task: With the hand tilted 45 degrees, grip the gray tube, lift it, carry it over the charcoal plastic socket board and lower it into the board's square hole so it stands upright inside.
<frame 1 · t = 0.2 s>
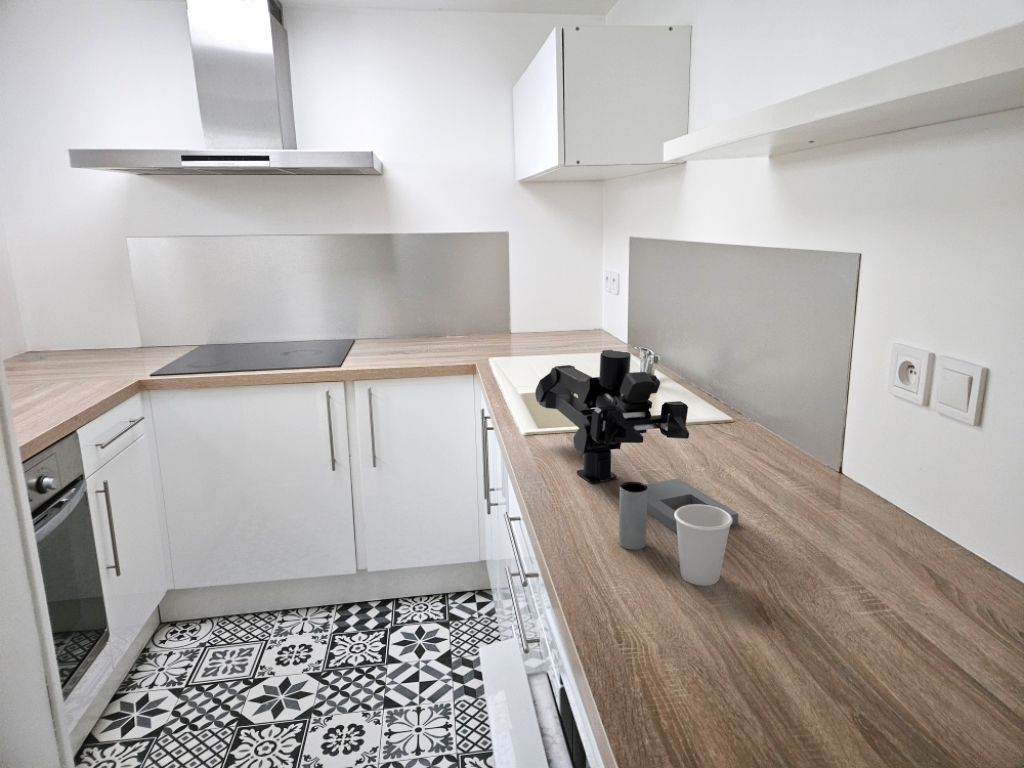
hand: (665, 437, 117), 16 cm above the countertop, tool horizontal, fingers open, 9 cm apart
dixie cup: (699, 577, 104), on the countertop
gray tube: (632, 544, 114), on the countertop
socket board: (679, 510, 127), on the countertop
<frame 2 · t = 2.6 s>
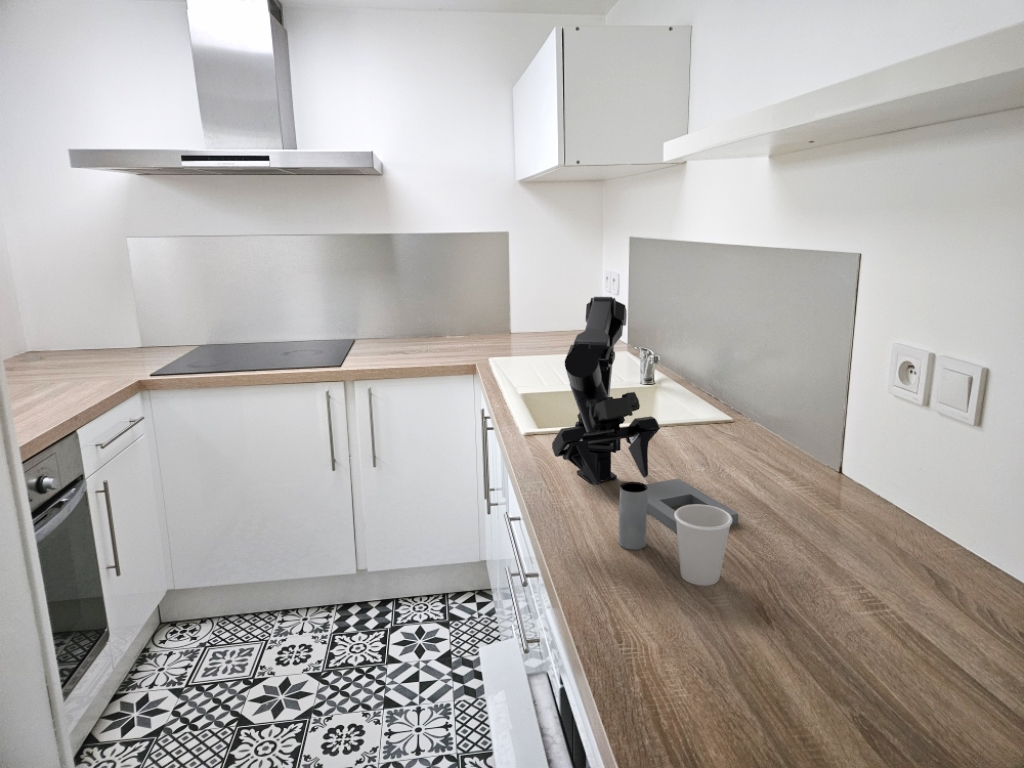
hand: (622, 480, 115), 10 cm above the countertop, tool tilted 45°, fingers open, 9 cm apart
nothing on the countertop moved.
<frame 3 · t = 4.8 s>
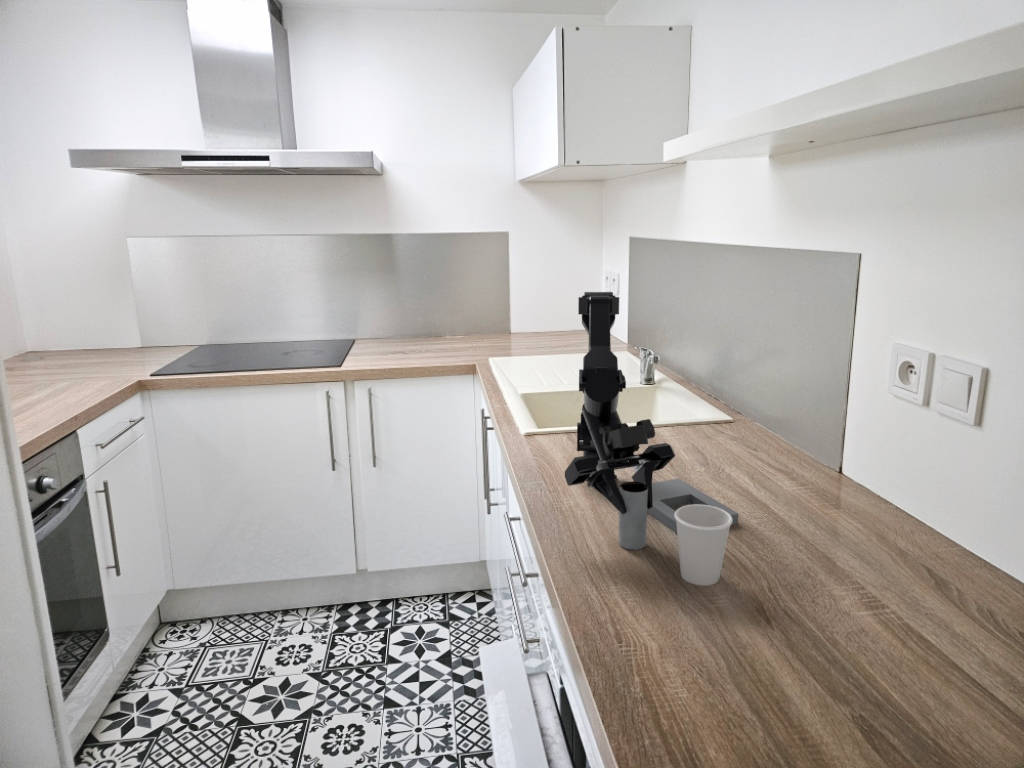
hand: (637, 510, 111), 7 cm above the countertop, tool tilted 45°, fingers closed on gray tube, 4 cm apart
gray tube: (632, 544, 114), on the countertop, touching gripper
everything else where it was.
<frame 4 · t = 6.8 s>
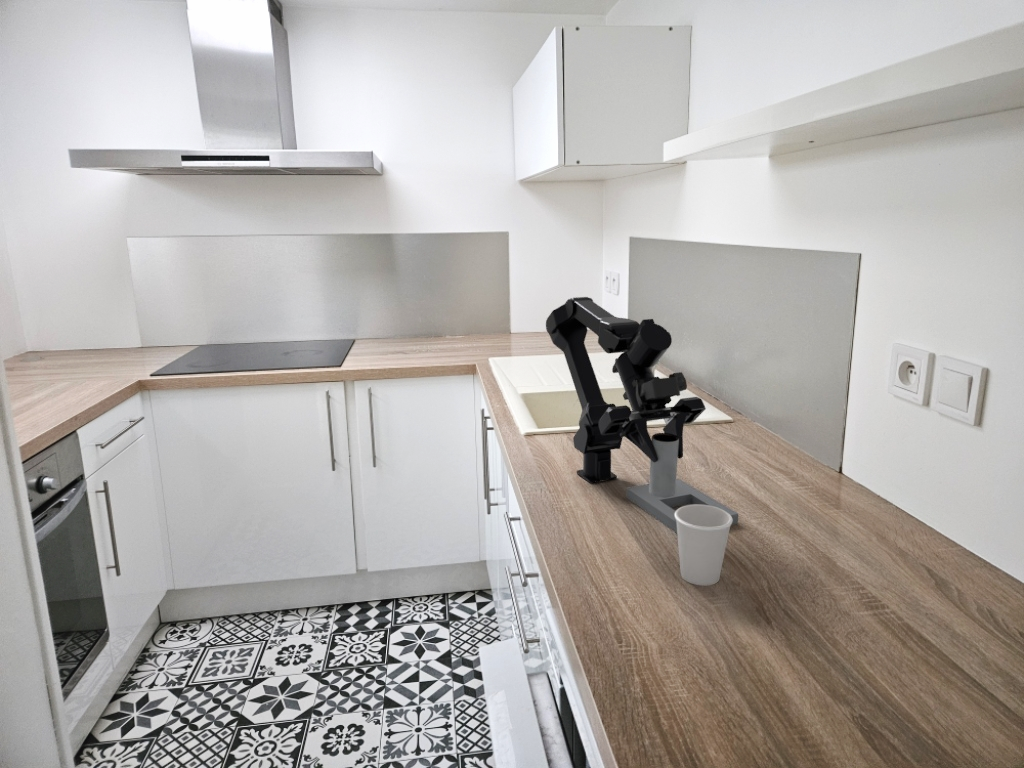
hand: (668, 459, 116), 13 cm above the countertop, tool tilted 45°, fingers closed on gray tube, 4 cm apart
gray tube: (661, 493, 119), point 6 cm above the countertop, touching gripper
everything else where it was.
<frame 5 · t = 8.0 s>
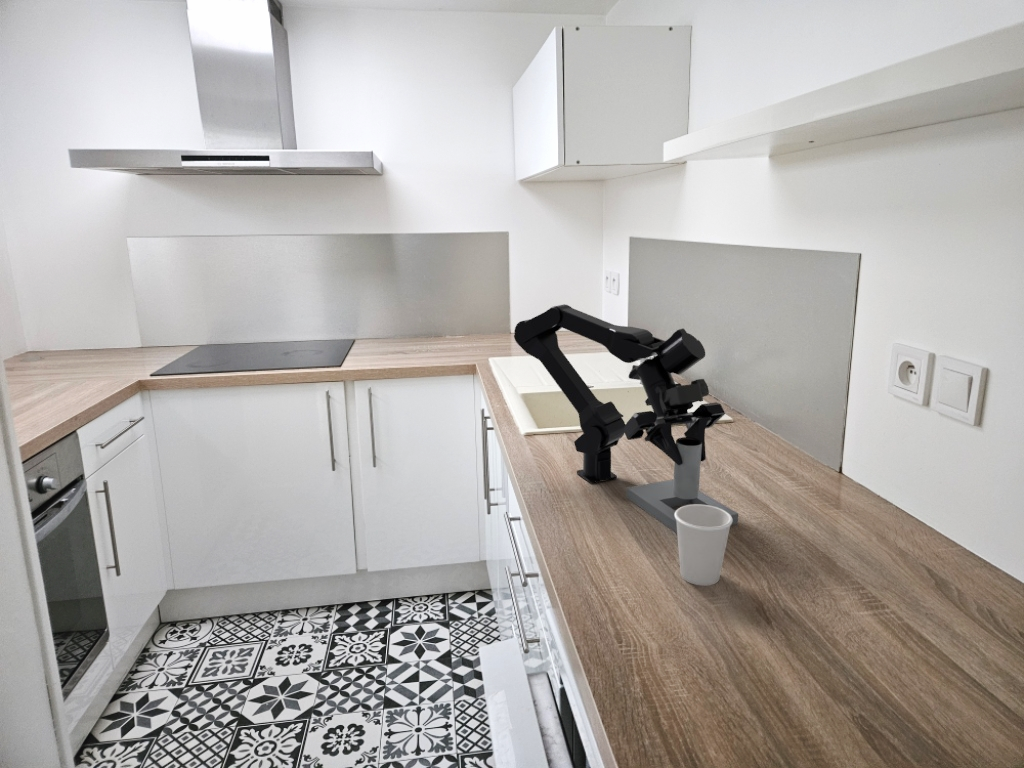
hand: (692, 462, 121), 11 cm above the countertop, tool tilted 45°, fingers closed on gray tube, 4 cm apart
gray tube: (685, 495, 124), point 4 cm above the countertop, touching gripper
everything else where it was.
when the fingers open (9 cm above the countertop, at t = 9.0 s): gray tube drops 3 cm, resting in socket board.
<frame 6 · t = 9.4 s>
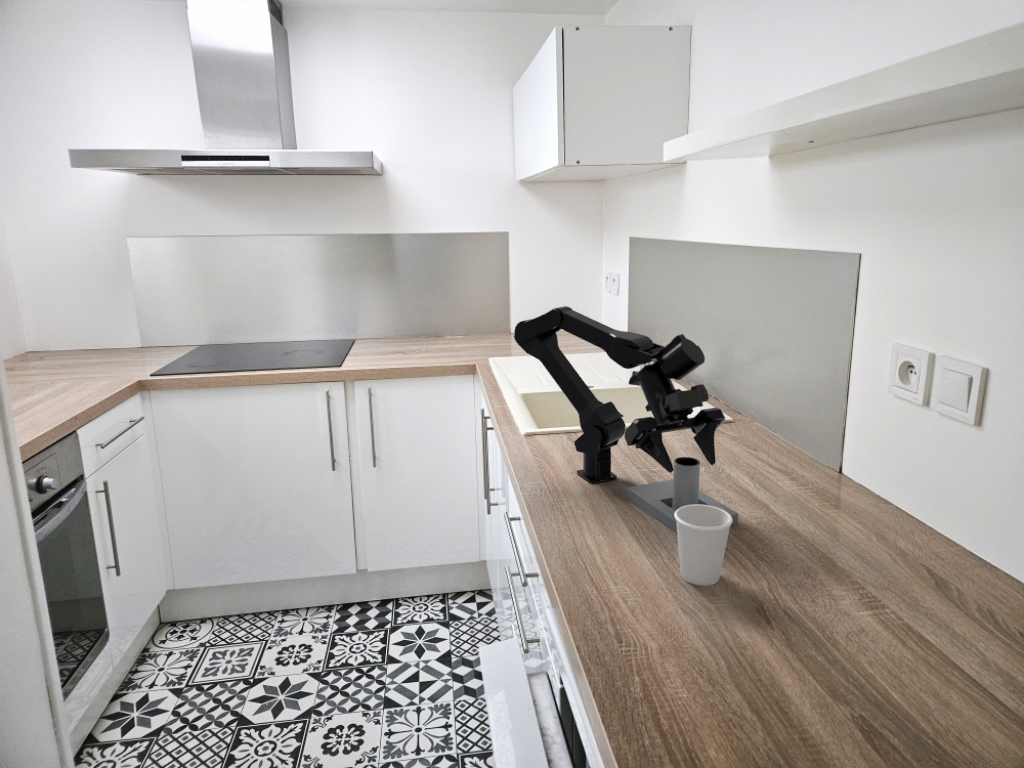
hand: (692, 467, 121), 10 cm above the countertop, tool tilted 45°, fingers open, 9 cm apart
gray tube: (684, 514, 125), resting in socket board
everything else where it was.
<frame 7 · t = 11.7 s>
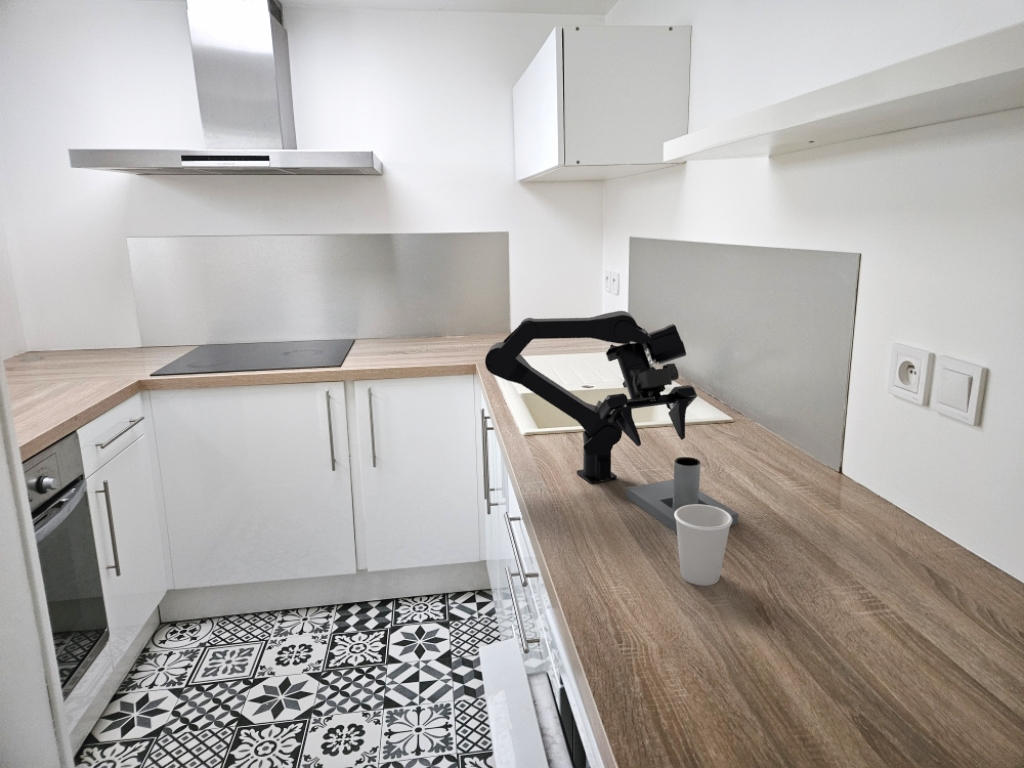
hand: (661, 442, 129), 12 cm above the countertop, tool tilted 40°, fingers open, 9 cm apart
nothing on the countertop moved.
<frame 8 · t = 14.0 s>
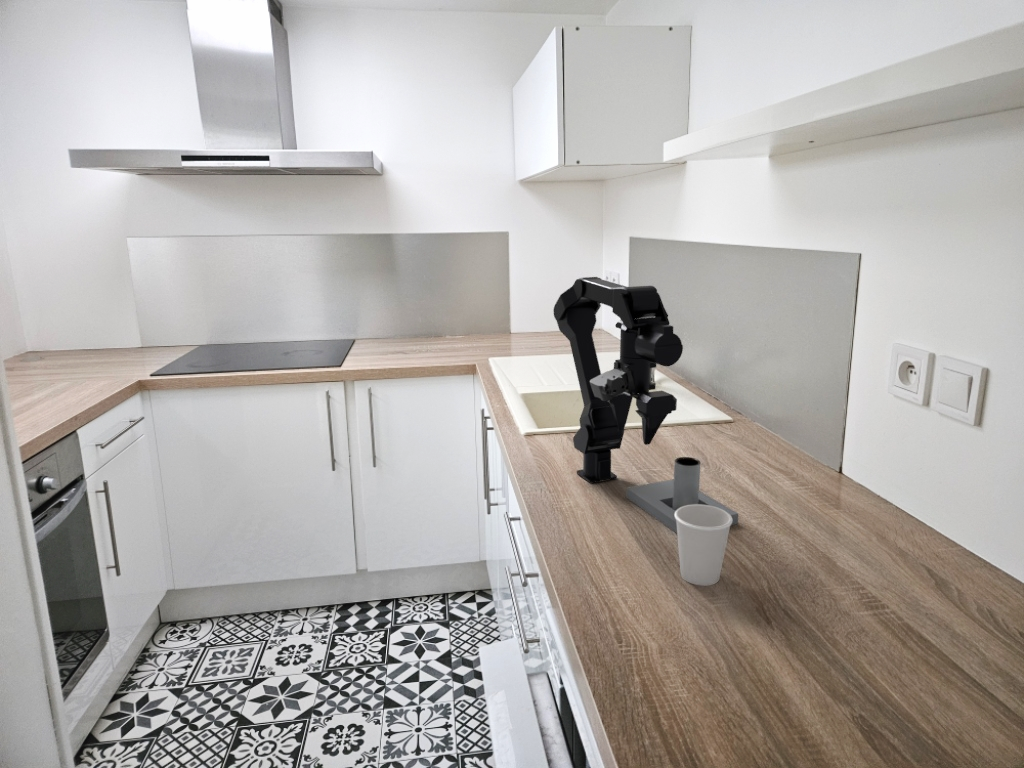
hand: (633, 437, 128), 13 cm above the countertop, tool pointing down, fingers open, 9 cm apart
nothing on the countertop moved.
at the end: gray tube 0.2 cm from the target spot on the socket board, point 0.0 cm above the socket board's base; gray tube tilted 0°; the gripper is holding nothing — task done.
